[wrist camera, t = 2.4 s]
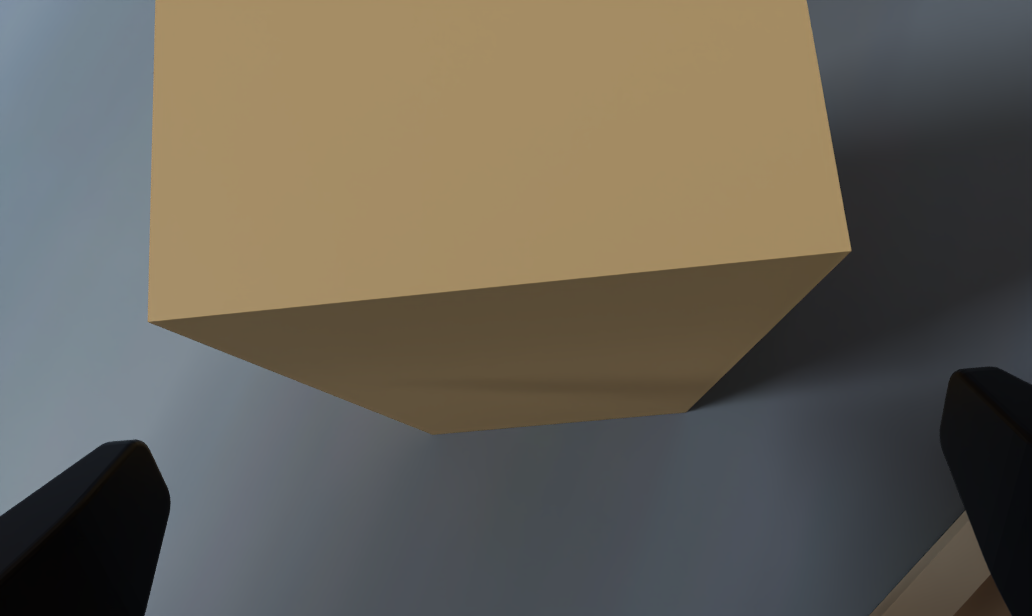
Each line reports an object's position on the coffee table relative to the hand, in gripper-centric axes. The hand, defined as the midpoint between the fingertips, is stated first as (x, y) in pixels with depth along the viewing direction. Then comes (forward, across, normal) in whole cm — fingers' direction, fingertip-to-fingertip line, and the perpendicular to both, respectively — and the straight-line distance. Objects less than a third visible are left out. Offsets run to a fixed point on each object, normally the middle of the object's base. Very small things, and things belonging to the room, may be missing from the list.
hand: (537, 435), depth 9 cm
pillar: (+10, 0, +5) cm, 11 cm away
